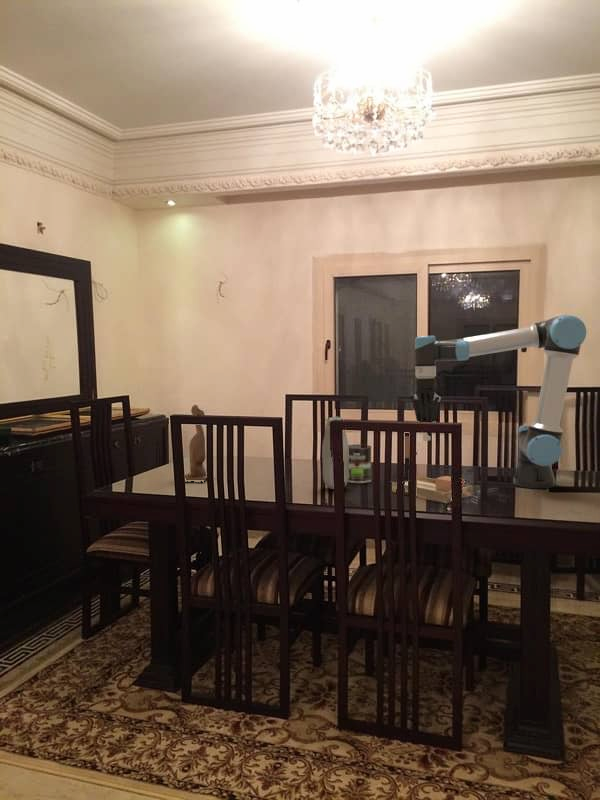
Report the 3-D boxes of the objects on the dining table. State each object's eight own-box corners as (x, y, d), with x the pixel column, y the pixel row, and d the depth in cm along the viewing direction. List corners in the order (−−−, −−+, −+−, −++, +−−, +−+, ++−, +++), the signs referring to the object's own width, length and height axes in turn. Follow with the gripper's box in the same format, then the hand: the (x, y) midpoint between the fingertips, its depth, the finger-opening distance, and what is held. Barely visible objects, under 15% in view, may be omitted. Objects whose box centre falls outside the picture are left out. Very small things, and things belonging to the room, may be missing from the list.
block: (445, 486, 234) (445, 475, 233) (463, 490, 228) (463, 479, 227) (435, 489, 230) (435, 478, 229) (454, 492, 224) (454, 481, 223)
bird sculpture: (206, 484, 256) (206, 406, 253) (179, 483, 258) (179, 405, 255) (215, 478, 267) (215, 404, 264) (188, 477, 269) (188, 403, 266)
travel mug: (415, 479, 256) (415, 430, 254) (397, 478, 259) (396, 430, 257) (418, 475, 263) (418, 428, 262) (400, 474, 266) (400, 427, 264)
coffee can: (369, 483, 250) (369, 448, 249) (344, 482, 252) (343, 448, 251) (373, 478, 260) (372, 444, 259) (348, 477, 262) (348, 444, 261)
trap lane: (415, 484, 247) (415, 475, 247) (472, 495, 227) (472, 485, 227) (388, 491, 236) (388, 482, 236) (446, 503, 217) (446, 493, 217)
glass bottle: (348, 492, 236) (347, 418, 234) (321, 491, 238) (320, 418, 235) (350, 486, 246) (349, 415, 243) (324, 485, 248) (323, 415, 245)
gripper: (405, 377, 236) (406, 440, 238) (433, 378, 226) (435, 443, 228) (418, 376, 240) (419, 437, 242) (446, 377, 231) (447, 440, 233)
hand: (426, 440), depth 235 cm, fingers closed
